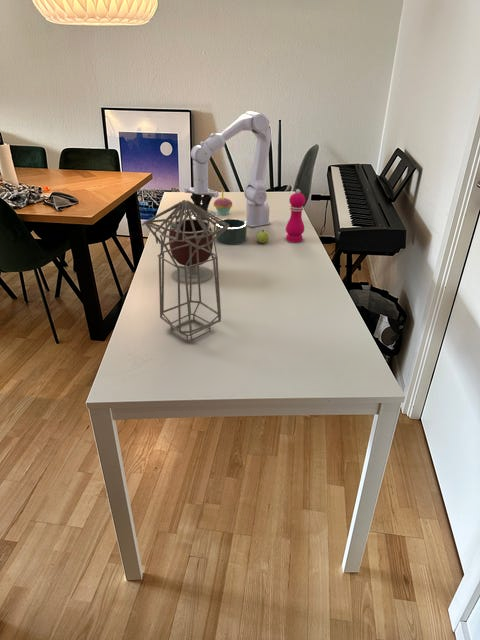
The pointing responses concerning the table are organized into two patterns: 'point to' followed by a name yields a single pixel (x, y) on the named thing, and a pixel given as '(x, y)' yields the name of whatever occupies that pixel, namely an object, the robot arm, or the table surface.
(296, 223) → the pepper mill
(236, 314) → the table surface
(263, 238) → the guava
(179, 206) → the geometric lantern
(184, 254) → the mate gourd
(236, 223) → the pot
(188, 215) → the pot lid
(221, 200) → the cupcake
